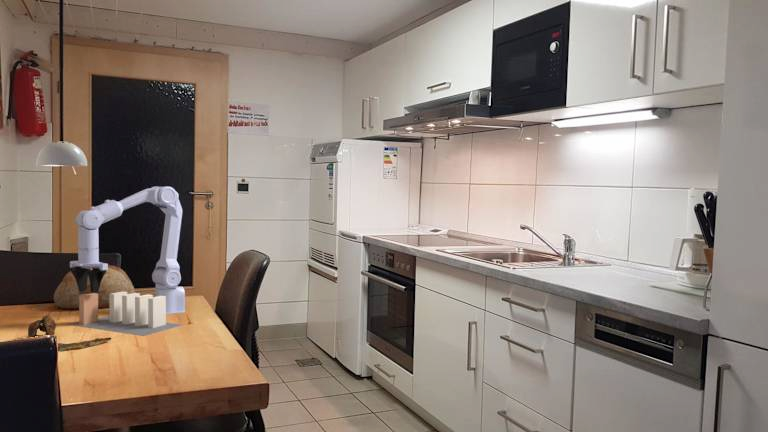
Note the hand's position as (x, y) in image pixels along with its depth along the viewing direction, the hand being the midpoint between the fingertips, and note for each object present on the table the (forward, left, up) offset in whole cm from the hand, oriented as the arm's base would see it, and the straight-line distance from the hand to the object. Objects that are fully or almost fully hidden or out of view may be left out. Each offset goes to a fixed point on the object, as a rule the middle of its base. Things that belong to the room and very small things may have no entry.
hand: (88, 291), depth 180 cm
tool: (+10, +25, -11) cm, 29 cm away
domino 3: (-11, +6, -10) cm, 16 cm away
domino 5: (-17, +16, -10) cm, 25 cm away
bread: (-8, -33, -11) cm, 36 cm away
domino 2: (-8, +2, -10) cm, 13 cm away
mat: (-9, +9, -10) cm, 17 cm away
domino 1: (0, 0, -10) cm, 10 cm away
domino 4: (-14, +11, -10) cm, 20 cm away
